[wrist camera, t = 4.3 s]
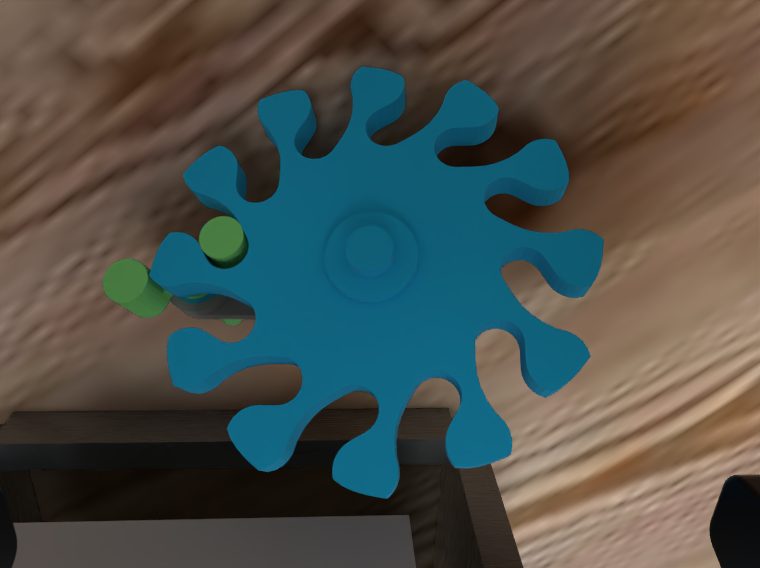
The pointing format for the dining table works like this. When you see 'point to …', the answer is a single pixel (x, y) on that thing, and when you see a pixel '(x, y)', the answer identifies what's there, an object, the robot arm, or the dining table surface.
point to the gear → (366, 276)
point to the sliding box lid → (219, 543)
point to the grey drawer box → (215, 450)
